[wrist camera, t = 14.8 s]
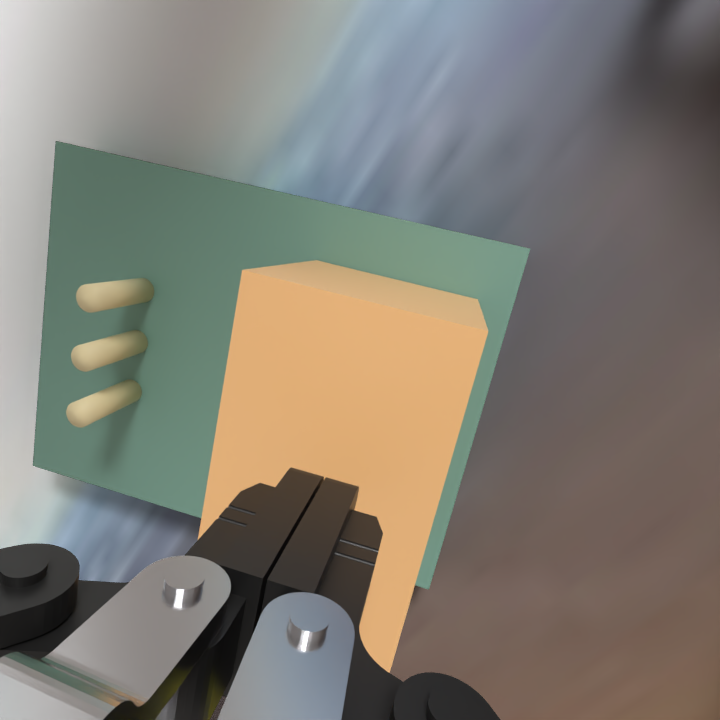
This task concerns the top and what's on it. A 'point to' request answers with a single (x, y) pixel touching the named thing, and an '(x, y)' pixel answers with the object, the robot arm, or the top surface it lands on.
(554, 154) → the top surface
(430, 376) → the block
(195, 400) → the header board
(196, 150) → the top surface
